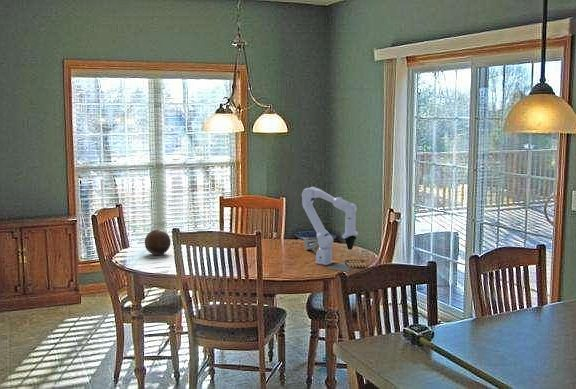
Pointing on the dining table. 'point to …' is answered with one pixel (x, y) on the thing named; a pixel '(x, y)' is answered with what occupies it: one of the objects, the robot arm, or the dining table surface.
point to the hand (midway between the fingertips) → (349, 249)
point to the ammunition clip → (355, 263)
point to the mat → (341, 267)
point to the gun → (311, 245)
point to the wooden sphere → (157, 242)
